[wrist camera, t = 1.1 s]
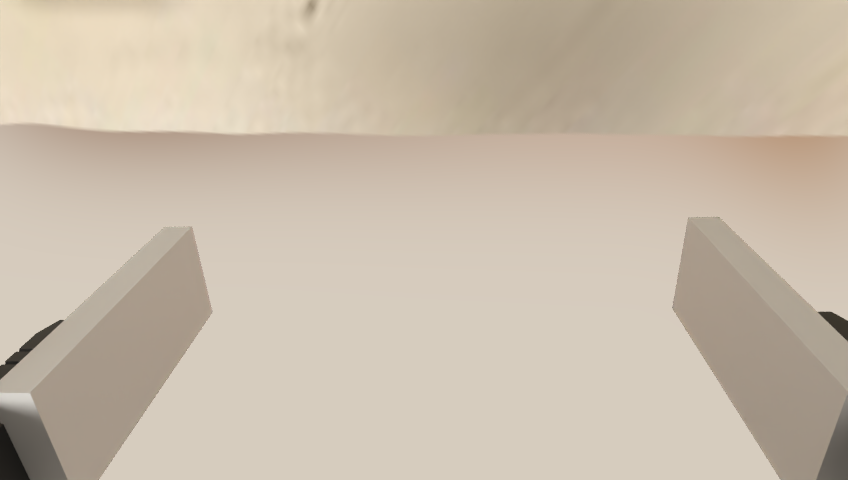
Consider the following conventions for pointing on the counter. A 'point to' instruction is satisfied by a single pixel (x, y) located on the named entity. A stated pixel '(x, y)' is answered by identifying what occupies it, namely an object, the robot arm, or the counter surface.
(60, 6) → the counter surface
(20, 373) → the robot arm
